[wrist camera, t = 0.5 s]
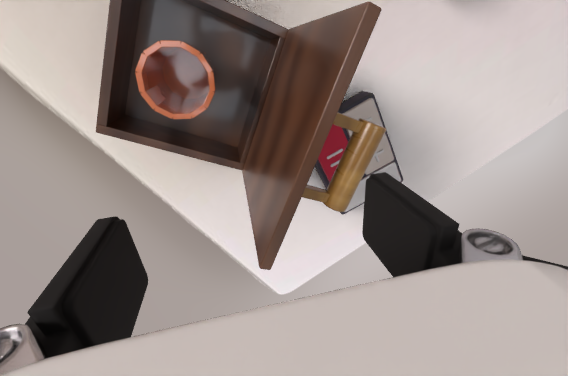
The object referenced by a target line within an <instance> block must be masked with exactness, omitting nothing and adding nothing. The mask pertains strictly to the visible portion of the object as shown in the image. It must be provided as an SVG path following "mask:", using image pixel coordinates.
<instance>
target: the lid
mask: <svg viewBox="0 0 568 376" xmlns="http://www.w3.org/2000/svg"><path fill="white" fill-rule="evenodd" d="M380 12H381V8H380V7H378V6H376V5H375V4H373V3H371V2H366V3H363V4H360V5H357V6H354V7H351V8H348V9H346V10H343V11H340V12H337V13H334V14H331V15H328V16H325V17H323V18H320V19H317V20H314V21H311V22H308V23H305V24H302V25H300V26H297V27H294V28H291V29H289V30H288V33H287V36H286V39H285V42H284V45H283V48H282V51H281V55H280V58H279V61H278V64H277V67H276V70H275V73H274V76H273V79H272V82H271V85H270V88H269V91H268V94H267V97H266V101H265V104H264V107H263V110H262V113H261V116H260V119H259V122H258V125H257V128H256V131H255V134H254V137H253V140H252V143H251V147H250V150H249V153H248V156H247V159H246V162H245V165H244V168H243V171H242V172H243V178H244V184H245V189H246V195H247V200H248V206H249V211H250V217H251V223H252V228H253V234H254V239H255V245H256V250H257V256H258V262H259V267H260V268H261V269H267V270H270V269H271V267H272V265H273V263H274V260H275V258H276V255H277V253H278V251H279V248H280V246H281V244H282V241H283V239H284V237H285V234H286V232H287V230H288V227H289V225H290V223H291V220H292V218H293V216H294V213H295V211H296V209H297V206H298V204H299V202H300V199H301V197H304V198H308V199H312V200H316V201H320V202H323V203H324V204H325V205H326V206H328V207H329V208H331V209H333V210H336V211H339V212H344V211H346V209H347V207H348V205H349V203H350V201H351V199H352V197H353V195H354V193H355V191H356V189H357V187H358V185H359V183H360V181H361V179H362V177H363V175H364V173H365V171H366V169H367V167H368V165H369V163H370V162H371V160H372V158H373V156H374V154H375V152H376V150H377V148H378V146H379V144H380V142H381V140H382V138H383V136H384V134H385V132H386V128H384V127H382V126H380V125H378V124H375V123H373V122H370V121H368V120H365V119H362V118H359V120H357V119H354V118H352V117H349V116H346V115H344V114H341V113H338V110H339V108H340V106H341V103H342V101H343V99H344V96H345V94H346V92H347V89H348V87H349V85H350V82H351V80H352V78H353V75H354V73H355V71H356V68H357V66H358V64H359V61H360V59H361V56H362V54H363V52H364V49H365V47H366V45H367V42H368V40H369V38H370V35H371V33H372V31H373V28H374V26H375V24H376V21H377V19H378V17H379V14H380ZM332 124H334V125H336V126H339V127H342V128H345V129H347V130H350V131H353V133H352V135H351V137H350V139H349V142H348V144H347V146H346V148H345V150H344V153H343V155H342V157H341V159H340V161H339V163H338V166H337V168H336V170H335V172H334V174H333V176H332V179H331V181H330V183H329V185H328V187H327V190H324V189H321V188H317V187H313V186H309V185H307V183H308V181H309V178H310V176H311V174H312V171H313V169H314V167H315V164H316V162H317V160H318V157H319V155H320V152H321V150H322V148H323V145H324V143H325V141H326V138H327V136H328V134H329V131H330V129H331V127H332Z"/></svg>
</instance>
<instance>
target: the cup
mask: <svg viewBox="0 0 568 376" xmlns="http://www.w3.org/2000/svg"><path fill="white" fill-rule="evenodd" d="M135 71H136V72H135V74H136V79H137V84H138V88H139V92H142V93H140V94H141V95H142V97H143V98H144V99H145V100H146V102H147V103H148V104H149V105H150V107H151V108H152V109H155V110H154V111H156V112H158V113H160V114H162V115H164V116H167V117H169V118H171V119H172V118H173V119H191V118H194V117H196V116H197V115H199V114H200V113H202V112H204V111H205V110H207V108H208V107H209V105H210V103H211V100H212V98H213V96H214V94H215V89H216V83H217V78H216V68H215V65H214V64H213V62H212V60H211V59H210V57H209V56H208V54H207V53H206V52H205V51H203V50H201V49H200V48H198V47H196V46H195V45H193V44H190V43H186V42H183V41H175V40H160V41H157V42H156V43H154V44H153V45H151V46H150V47H148V48H147V49H145V50H144V51H143V53H141V56H140V59H139V62H138V64H137V67H136V70H135Z"/></svg>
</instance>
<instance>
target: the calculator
mask: <svg viewBox="0 0 568 376" xmlns="http://www.w3.org/2000/svg"><path fill="white" fill-rule="evenodd" d="M338 113H341V114H344V115H346V116H349V117H352V118H354V119H357V120H359V118H362V119H365V120H368V121H370V122H373V123H375V124H378V125H380V126H382V127H384V128H385V125H384V122H383V119H382V116H381V114H380V111H379V108H378V105H377V102H376V99H375V96H374V94H373V93H368V92H360V93H358V94H357V95H355V96H353V97H351V98H350V99H348V100H346V101H344V102H343V103H341V106H340V108H339V110H338ZM352 133H353V131H350V130H347V129H345V128H342V127H339V126H336V125H334V124H332V127H331V129H330V131H329V134H328V136H327V138H326V141H325V143H324V145H323V148H322V150H321V152H320V155H319V157H318V160H317V162H316V164H315V167H316V169H317V171H318V173H319V175H320V177H321V179H322V181H323V183H324V185H325V187H326V190H327V187H328V185H329V183H330V181H331V179H332V176H333V174H334V172H335V170H336V168H337V166H338V163H339V161H340V159H341V157H342V155H343V153H344V150H345V148H346V146H347V144H348V142H349V139H350V137H351V135H352ZM382 172H386V173H388V174H389V175H391V176H392V177H393V178H395V179H396V180H398V181H399V182H400V183H401V182H402V181H403V177H402V174H401V171H400V169H399V166H398V163H397V160H396V157H395V154H394V151H393V148H392V145H391V143H390V140H389V137H388V134H387V131H386V132H385V134H384V136H383V138H382V140H381V142H380V144H379V146H378V148H377V150H376V152H375V154H374V156H373V158H372V160H371V162H370V163H369V165H368V167H367V169H366V171H365V173H364V175H363V177H362V179H361V181H360V183H359V185H358V187H357V189H356V191H355V193H354V195H353V197H352V199H351V201H350V203H349V205H348V207H347V209H346V211H344V212H340V213H341V214H345V213H347V212H349V211H351V210H352V209H354V208H356V207H358V206H360V205H362V204H363V203H364V202H365V185H366V179H367V178H369V177H370V175H371V174H376V173H382Z"/></svg>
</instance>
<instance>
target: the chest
mask: <svg viewBox="0 0 568 376" xmlns="http://www.w3.org/2000/svg"><path fill="white" fill-rule="evenodd" d="M287 33H288V29H286V28H284V27H282V26H280V25H278V24H275V23H273V22H271V21H269V20H267V19H265V18H262V17H260V16H258V15H256V14H254V13H252V12H249V11H247V10H245V9H243V8H241V7H238V6H236V5H234V4H232V3H230V2H228V1H225V0H110V5H109V14H108V24H107V33H106V42H105V51H104V61H103V70H102V79H101V88H100V98H99V107H98V116H97V126H96V132H97V133H101V134H105V135H109V136H113V137H116V138H120V139H124V140H128V141H132V142H136V143H139V144H143V145H147V146H151V147H155V148H159V149H162V150H166V151H170V152H174V153H178V154H182V155H185V156H189V157H193V158H197V159H201V160H205V161H208V162H212V163H216V164H220V165H224V166H228V167H231V168H235V169H239V170H243V168H244V165H245V162H246V159H247V156H248V153H249V150H250V147H251V143H252V140H253V137H254V134H255V131H256V128H257V125H258V122H259V119H260V116H261V113H262V110H263V107H264V104H265V101H266V97H267V94H268V91H269V88H270V85H271V82H272V79H273V76H274V73H275V70H276V67H277V64H278V61H279V58H280V55H281V51H282V48H283V45H284V42H285V39H286V36H287ZM160 40H175V41H183V42H186V43H190V44H193V45H195V46H196V47H198V48H200V49H201V50H203V51H205V52H206V53H207V54H208V56H209V57H210V59H211V60H212V62H213V64H214V65H215V68H216V78H217V83H216V89H215V94H214V96H213V98H212V100H211V103H210V105H209V107H208V108H207V110H205V111H204V112H202V113H200V114H199V115H197V116H196V117H194V118H191V119H173V118H172V119H171V118H169V117H167V116H164V115H162V114H160V113H158V112H156V111H154V110H155V109H152V108H151V107H150V105H149V104H148V103H147V102H146V100H145V99H144V98H143V97H142V95H141V94H140V93H142V92H139V88H138V84H137V79H136V74H135V72H136V71H135V70H136V67H137V64H138V62H139V59H140V56H141V53H143V51H144V50H145V49H147V48H148V47H150V46H151V45H153V44H154V43H156V42H157V41H160Z"/></svg>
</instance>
